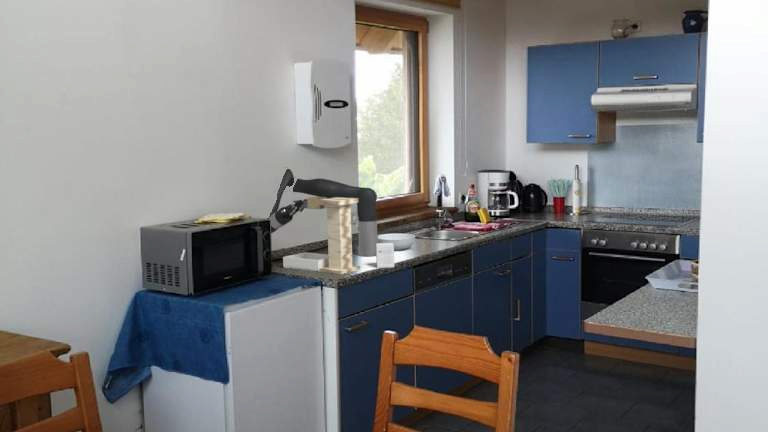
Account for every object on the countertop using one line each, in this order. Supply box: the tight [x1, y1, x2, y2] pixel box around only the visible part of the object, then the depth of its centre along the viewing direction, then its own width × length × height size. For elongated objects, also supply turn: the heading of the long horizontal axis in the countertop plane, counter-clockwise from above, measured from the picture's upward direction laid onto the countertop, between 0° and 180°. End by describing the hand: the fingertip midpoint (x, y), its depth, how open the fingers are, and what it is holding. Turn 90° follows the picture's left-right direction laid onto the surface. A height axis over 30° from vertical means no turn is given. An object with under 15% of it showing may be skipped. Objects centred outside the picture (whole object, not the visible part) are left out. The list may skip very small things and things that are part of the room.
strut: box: [292, 196, 327, 210], centre depth 357 cm, size 6×16×5 cm, turn 54°
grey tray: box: [282, 251, 329, 273], centre depth 361 cm, size 15×21×5 cm
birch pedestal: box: [317, 197, 361, 275], centre depth 349 cm, size 14×12×32 cm
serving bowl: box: [377, 232, 416, 252], centre depth 408 cm, size 21×21×7 cm
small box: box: [375, 243, 395, 269], centre depth 358 cm, size 8×6×10 cm
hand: (304, 201), depth 359 cm, fingers closed on strut, 3 cm apart
